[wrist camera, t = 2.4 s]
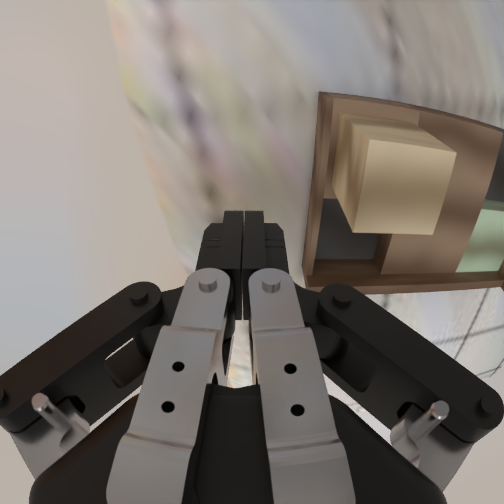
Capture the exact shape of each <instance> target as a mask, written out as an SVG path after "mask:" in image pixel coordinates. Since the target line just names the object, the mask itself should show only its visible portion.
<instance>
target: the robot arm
mask: <svg viewBox="0 0 504 504" xmlns="http://www.w3.org/2000/svg"><path fill="white" fill-rule="evenodd" d="M242 295H243V317H244V320H249V346H250V358H251V370H252V381H253V385H251V386H246V387H242V388H230V387H227V380H228V373H229V366H230V359H231V353H232V346H233V339H234V335H233V333H234V331H235V320H242ZM131 338H133V340H132V341H130V342H129V343H128V344H127V345H125V346H124V347H122V348H121V349H120V350H118V351H117V352H116V353H114V354H113V355H112V356H110V357H109V358H108V359H107V360H105V359H106V358H107V357H108V356H109V355H110V354H111V353H112V352H114V351H115V350H117V349H118V348H119V347H121V346H122V345H123V344H124V343H126V342H127V341H128V340H130V339H131ZM323 373H324V374H325V375H326V376H327V377H328V378H329V379H331V380H332V381H333V382H334V383H335V384H336V385H338V386H339V387H340V388H341V389H342V390H343V391H344V392H346V393H347V394H348V395H349V396H350V397H351V398H353V399H354V400H355V401H356V402H357V403H359V404H360V405H361V406H362V407H363V408H364V409H366V410H367V411H368V412H369V413H370V414H372V415H373V416H374V417H375V418H376V419H378V420H379V421H380V422H381V423H382V424H384V425H385V426H386V427H387V428H389V429H390V430H391V433H390V441H391V444H392V446H391V445H390V444H389V443H388V442H387V441H386V440H384V439H383V438H382V437H381V436H380V435H379V434H378V433H376V431H374V430H373V429H372V428H371V427H370V426H369V425H368V424H367V423H365V421H363V420H362V419H361V418H360V417H359V416H358V415H357V414H356V413H355V412H354V411H353V410H351V409H350V408H349V407H348V406H347V405H346V404H344V403H343V402H342V401H340V400H339V399H337V398H335V397H333V396H331V395H329V394H328V392H327V388H326V384H325V380H324V376H323ZM140 385H142V387H141V391H140V393H139V394H137V395H135V396H134V397H132V398H131V399H129V400H128V401H126V402H125V403H124V404H123V405H122V406H121V407H119V408H118V409H117V410H116V411H115V412H114V413H113V414H111V415H110V416H109V417H108V418H107V419H106V420H104V421H103V422H102V423H101V424H100V425H99V426H97V427H96V428H95V429H94V430H93V431H92V432H90V426H91V425H92V424H93V423H95V422H96V421H97V420H98V419H100V418H101V417H102V416H104V415H105V414H106V413H107V412H109V411H110V410H111V409H112V408H114V407H115V406H116V405H117V404H119V403H120V402H121V401H122V400H124V399H125V398H126V397H127V396H129V395H130V394H131V393H132V392H133V391H135V390H136V389H137V388H138V387H140ZM503 415H504V405H503V401H502V399H501V397H500V395H499V394H498V393H497V392H496V391H495V390H494V389H493V388H491V387H490V386H489V385H487V384H486V383H485V382H483V381H482V380H481V379H479V378H478V377H477V376H475V375H474V374H473V373H471V372H470V371H469V370H467V369H466V368H465V367H463V366H462V365H461V364H459V363H458V362H457V361H455V360H454V359H453V358H451V357H450V356H449V355H447V354H446V353H445V352H443V351H442V350H440V349H439V348H438V347H436V346H435V345H434V344H432V343H431V342H430V341H428V340H427V339H425V338H424V337H423V336H421V335H420V334H418V333H417V332H416V331H414V330H413V329H412V328H410V327H409V326H407V325H406V324H405V323H403V322H402V321H400V320H399V319H398V318H396V317H395V316H393V315H392V314H391V313H389V312H388V311H386V310H385V309H383V308H382V307H381V306H379V305H378V304H376V303H375V302H374V301H372V300H371V299H369V298H368V297H366V296H365V295H364V294H362V293H361V292H359V291H358V290H356V289H355V288H353V287H351V286H349V285H346V284H339V283H336V284H330V285H327V286H326V287H324V288H323V289H322V290H321V291H320V292H316V291H311V290H308V289H305V288H302V287H300V286H298V285H297V284H296V283H295V282H294V281H293V279H292V277H291V276H290V275H289V269H288V261H287V254H286V248H285V241H284V233H283V230H282V229H281V228H280V226H279V225H278V224H277V223H264V214H263V211H245V219H244V215H243V211H225V212H224V219H223V223H211V224H210V225H209V226H208V227H207V228H206V229H205V230H204V234H203V239H202V243H201V248H200V252H199V256H198V261H197V265H196V270H195V272H193V273H192V274H191V275H189V277H188V278H187V280H186V282H185V285H184V286H182V287H179V288H177V289H173V290H168V291H164V292H161V291H160V289H159V287H158V286H157V285H155V284H153V283H150V282H137V283H134V284H131V285H129V286H127V287H126V288H124V289H123V290H121V291H120V292H118V293H117V294H115V295H114V296H112V297H111V298H109V299H108V300H106V301H105V302H104V303H102V304H101V305H99V306H98V307H96V308H95V309H93V310H92V311H90V312H89V313H87V314H86V315H84V316H83V317H82V318H80V319H79V320H77V321H76V322H74V323H73V324H71V325H70V326H69V327H67V328H66V329H64V330H63V331H61V332H60V333H59V334H57V335H56V336H54V337H53V338H52V339H50V340H49V341H47V342H46V343H45V344H43V345H42V346H40V347H39V348H38V349H36V350H35V351H33V352H32V353H31V354H29V355H28V356H27V357H25V358H24V359H22V360H21V361H20V362H19V363H17V364H16V365H14V366H13V367H12V368H10V369H9V370H8V371H6V372H5V373H4V374H2V375H1V376H0V425H1V426H2V427H3V428H4V429H5V430H6V431H7V432H8V433H10V435H11V436H12V439H13V441H14V443H15V444H16V446H17V448H18V450H19V452H20V454H21V456H22V458H23V459H24V461H25V463H26V465H27V466H28V468H29V470H30V472H31V473H32V475H33V476H34V478H35V482H34V484H33V486H32V488H31V491H30V497H29V504H447V502H446V498H445V497H444V494H443V491H444V490H445V488H446V487H447V485H448V484H449V482H450V481H451V479H452V478H453V477H454V475H455V474H456V472H457V471H458V469H459V467H460V466H461V464H462V463H463V461H464V460H465V458H466V456H467V454H468V453H469V451H470V450H471V448H472V446H473V445H474V443H476V442H477V441H478V440H480V439H481V438H482V437H484V436H485V435H486V434H488V433H489V432H490V431H492V430H493V429H494V428H495V427H497V426H498V425H499V424H500V422H501V421H502V419H503Z"/></svg>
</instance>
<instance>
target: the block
mask: <svg viewBox="0 0 504 504" xmlns="http://www.w3.org/2000/svg"><path fill="white" fill-rule="evenodd" d="M456 154H457V153H456V152H455V151H454V150H452V149H451V148H449V147H448V146H447V145H445V144H444V143H442V142H441V141H439V140H438V139H436V138H435V137H434V136H432V135H431V134H429V133H427V132H426V131H424V130H423V129H421V128H420V127H418V126H417V125H415V124H413V123H411V122H405V121H399V120H393V119H386V118H379V117H372V116H364V115H355V114H346V113H340V117H339V127H338V137H337V146H336V155H335V163H334V171H333V179H332V188H333V190H334V192H335V194H336V197H337V199H338V201H339V203H340V205H341V207H342V209H343V212H344V214H345V216H346V218H347V220H348V223H349V225H350V227H351V229H352V232H353V233H391V234H422V235H433V232H434V230H435V227H436V224H437V221H438V218H439V215H440V211H441V208H442V205H443V202H444V198H445V195H446V192H447V188H448V185H449V181H450V177H451V174H452V170H453V166H454V162H455V158H456Z"/></svg>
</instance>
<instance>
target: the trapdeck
mask: <svg viewBox="0 0 504 504" xmlns="http://www.w3.org/2000/svg"><path fill="white" fill-rule="evenodd" d="M340 113H346V114H355V115H364V116H372V117H379V118H386V119H393V120H399V121H405V122H411V123H413V124H415V125H417V126H418V127H420V128H421V129H423V130H424V131H426V132H427V133H429V134H431V135H432V136H434V137H435V138H436V139H438V140H439V141H441V142H442V143H444V144H445V145H447V146H448V147H449V148H451V149H452V150H454V151H455V152H456V153H457V154H456V158H455V162H454V166H453V170H452V174H451V177H450V181H449V185H448V188H447V192H446V195H445V198H444V202H443V205H442V208H441V211H440V215H439V218H438V221H437V224H436V227H435V230H434V232H433V235H422V234H391V233H353V232H352V229H351V227H350V225H349V223H348V220H347V218H346V216H345V214H344V212H343V209H342V207H341V205H340V203H339V201H338V199H337V197H336V194H335V192H334V190H333V188H332V179H333V171H334V163H335V155H336V146H337V137H338V127H339V117H340ZM302 269H303V275H304V280H305V286H306V289H308V290H311V291H316V292H320V291H321V290H322V289H323V288H324V287H326V286H327V285H330V284H336V283H339V284H346V285H349V286H351V287H353V288H355V289H356V290H358V291H359V292H361V293H362V294H364V295H366V294H394V293H417V292H435V291H452V290H467V289H481V288H493V287H501V288H502V289H503V291H504V129H501V128H498V127H495V126H492V125H489V124H486V123H482V122H479V121H476V120H472V119H469V118H465V117H462V116H458V115H454V114H450V113H446V112H442V111H438V110H434V109H430V108H425V107H420V106H416V105H411V104H406V103H400V102H395V101H389V100H383V99H377V98H370V97H363V96H355V95H347V94H338V93H328V92H319V99H318V114H317V127H316V140H315V152H314V163H313V173H312V184H311V193H310V203H309V212H308V221H307V229H306V238H305V246H304V254H303V261H302Z"/></svg>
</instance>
